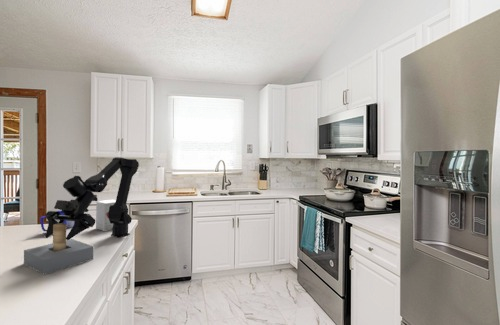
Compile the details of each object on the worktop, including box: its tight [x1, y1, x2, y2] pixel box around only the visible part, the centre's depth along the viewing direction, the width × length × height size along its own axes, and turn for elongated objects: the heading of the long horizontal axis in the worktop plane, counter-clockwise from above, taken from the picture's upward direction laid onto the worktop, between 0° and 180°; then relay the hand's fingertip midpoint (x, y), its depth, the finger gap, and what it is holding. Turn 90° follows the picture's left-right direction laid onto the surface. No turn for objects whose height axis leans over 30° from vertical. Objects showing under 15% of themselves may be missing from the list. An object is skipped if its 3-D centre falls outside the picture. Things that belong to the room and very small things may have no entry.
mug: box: [39, 210, 67, 232], centre depth 133 cm, size 8×12×10 cm
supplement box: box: [95, 199, 116, 232], centre depth 144 cm, size 9×9×15 cm
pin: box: [52, 223, 67, 252], centre depth 98 cm, size 4×4×13 cm
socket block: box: [23, 238, 94, 275], centre depth 99 cm, size 16×16×5 cm
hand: (56, 238), depth 97 cm, fingers open, 9 cm apart
